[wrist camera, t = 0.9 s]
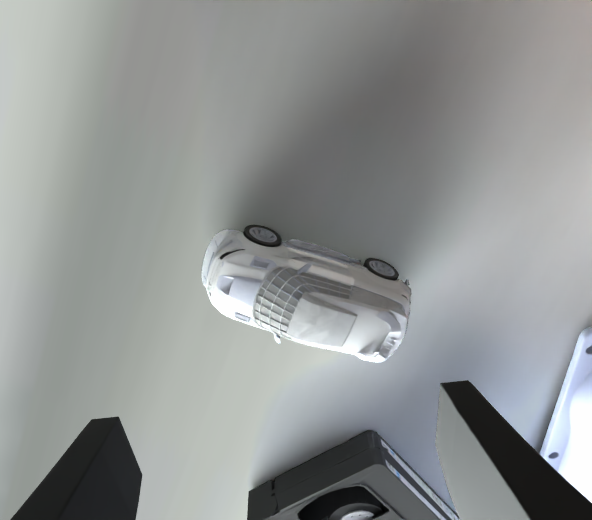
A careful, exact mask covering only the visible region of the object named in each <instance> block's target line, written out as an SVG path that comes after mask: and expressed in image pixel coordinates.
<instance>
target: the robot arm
mask: <svg viewBox="0 0 592 520" xmlns="http://www.w3.org/2000/svg"><path fill="white" fill-rule="evenodd" d="M589 346H590V347H589ZM435 446H436V449H437V453H438V456H439V460H440V464H441V467H442V471H443V474H444V478H445V481H446V484H447V488H448V491H449V494H450V496H451V499H452V501H453V504H454V506H455V509H456V511H457V514H458V516H459V519H460V520H592V327H588V328H586V329H585V330H583V331H582V332H581V334H580V336H579V338H578V341H577V344H576V347H575V350H574V353H573V356H572V359H571V362H570V365H569V368H568V371H567V374H566V377H565V380H564V383H563V386H562V389H561V392H560V395H559V398H558V400H557V403H556V406H555V409H554V412H553V415H552V418H551V421H550V424H549V427H548V430H547V433H546V436H545V439H544V442H543V445H542V448H541V451H540V454H539V453H538V452H537V451H536V450H535V449H534V448H533V447H532V446H530V445H529V444H528V443H527V442H526V441H525V440H524V439H523V438H522V437H521V435H520V434H519V433H518V432H517V431H516V430H515V429H514V428H513V427H512V426H511V425H510V424H509V423H508V422H507V421H506V420H505V419H504V418H503V417H502V416H501V415H500V414H499V413H498V411H497V410H496V409H495V408H494V407H493V406H492V405H491V404H490V403H489V402H488V401H487V400H486V399H485V397H484V396H483V395H482V394H481V393H480V392H479V391H478V390H477V389H476V388H475V386H474V385H473V384H472V383H470V382H469V381H468V380H467V381H457V382H447V383H440V394H439V406H438V418H437V430H436V442H435ZM141 480H142V473H141V471H140V468H139V466H138V463H137V461H136V458H135V456H134V453H133V451H132V448H131V446H130V443H129V441H128V439H127V436H126V434H125V431H124V429H123V426H122V424H121V421H120V419H119V417H111V418H101V419H92V420H91V421H90V422H89V423H88V424H87V426H86V427H85V428H84V429H83V431H82V432H81V433H80V434H79V436H78V437H77V438H76V439H75V441H74V442H73V443H72V444H71V446H70V447H69V448H68V449H67V451H66V452H65V453H64V455H63V456H62V457H61V458H60V460H59V461H58V462H57V463H56V465H55V466H54V467H53V468H52V470H51V471H50V472H49V473H48V475H47V476H46V477H45V478H44V480H43V481H42V482H41V483H40V485H39V486H38V487H37V488H36V489H35V491H34V492H33V493H32V494H31V496H30V497H29V498H28V499H27V500H26V502H25V503H24V504H23V505H22V506H21V508H20V509H19V510H18V511H17V513H16V514H15V515H14V516H13V517H12V518H11V520H135V519H136V513H137V507H138V502H139V495H140V487H141Z"/></svg>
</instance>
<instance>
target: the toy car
mask: <svg viewBox="0 0 592 520" xmlns="http://www.w3.org/2000/svg"><path fill="white" fill-rule="evenodd" d="M242 233H243V232H242V231H238V230H233V229H224V230H222V231H220V232H218V233H217V234H216V235H215V236H214V237H213V238H212V240H211V242H210V243H209V245H208V248H207V250H206V253H205V256H204V260H203V265H202V281H203V284H204V286H205V287H206V288H207V293H208V296H209V298H210V301H211V302H212V304H213V305H214V306H215V307H216V308H217V309H218V310H219V311H220V312H221V313H222V314H224V315H226V316H228V317H230V318H232V319H234V320H237V321H241V322H244V323H246V324H249V325H252V326H255V327H258V328H261V329H265V330H268V331H270V332H272V333H274V336H275V340H276V341H277V343H279V344H280V336H282V337H284V338H287V339H289V340H292V341H295V342H298V343H301V344H305V345H309V346H313V347H317V348H321V349H326V350H327V349H330V350H334V351H339V352H344V353H349V354H355V355H356V356H357V357H359V358H360V359H362V360H366V361H372V362H383V361H385V360H386V359H388V358H389V357H390V356H391V355H392V354H393V353H394V352H395V351H396V350H397V348H398V347H399V346H400V344H401V343H402V341H403V339H404V336H405V333H406V329H407V324H408V316H409V314H410V303H411V302H410V297H411V288H410V287H408V285H409V281H408V279H406V281H405V283H404V282H403V281H402V280H400V279H398V280H397V278H398V276H399V274H398V271H397V270H396V269H395V268H394V267H393V266H391V265H390V264H388V263H387V262H385V261H382V260H379V259H374V258H369V259H366V261H365V263H364V265H359V264H360V262H361V261H360V260H356V259H352V258H349V257H348V256H347V255H345V254H342V253H340V252H338V251H335V250H332V249H328V248H325V247H322V246H318V245H315V244H312V243H309V242H305V241H302V240H296V239H290V240H288V241H286V242H283V241H281V237H280V236H279V235H278V234H277V233H276V232H275V231H273V230H271V229H269V228H267V227H264V226H259V225H250V226H247V227H246V228H245V231H244V234H242Z"/></svg>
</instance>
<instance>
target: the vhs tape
mask: <svg viewBox="0 0 592 520" xmlns="http://www.w3.org/2000/svg"><path fill="white" fill-rule="evenodd" d="M247 520H460V519H459V516H458V515H457V514H456V513H455V512H454V511H453V510H452V509H451V508H450V507H449V506H448V505H447V504H446V503H445V502H444V501H443V500H442V499H441V498H440V497H439V496H438V495H437V494H436V493H435V492H434V491H433V490H432V489H431V487H430V486H429V485H428V484H427V483H426V482H425V481H424V480H423V479H422V478H421V477H420V476H419V475H418V474H417V473H416V472H415V471H414V470H413V469H412V468H411V467H410V466H409V465H408V464H407V463H406V462H405V461H404V460H403V459H402V458H401V457H400V456H399V455H398V454H397V453H396V452H395V451H394V450H393V449H392V448H391V446H390V445H389V444H388V443H387V442H386V441H385V440H384V439H383V438H382V437H381V436H380V435H379V434H378V433H377V432H374V431H366V432H364V433H362V434H360V435H358V436H356V437H354V438H352V439H350V440H349V441H348V442H347V443H345V444H343V445H339V446H337V447H335V448H333V449H331V450H329V451H327V452H325V453H323V454H321V455H319V456H317V457H315V458H313V459H311V460H309V461H307V462H305V463H304V464H302V465H300V466H298V467H296V468H294V469H292V470H290V471H288V472H286V473H284V474H282V475H280V476H278V477H276V478H275V482H273V481H272V480H270V481H268V482H266V483H264V484H263V485H261V486H259V487H257V488H255V489H253V490H251V491H249V497H248V515H247Z"/></svg>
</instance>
